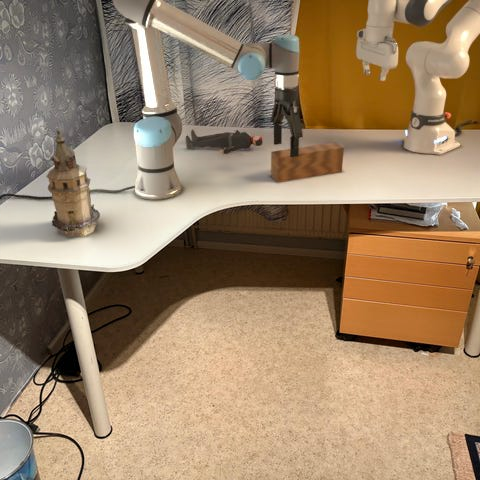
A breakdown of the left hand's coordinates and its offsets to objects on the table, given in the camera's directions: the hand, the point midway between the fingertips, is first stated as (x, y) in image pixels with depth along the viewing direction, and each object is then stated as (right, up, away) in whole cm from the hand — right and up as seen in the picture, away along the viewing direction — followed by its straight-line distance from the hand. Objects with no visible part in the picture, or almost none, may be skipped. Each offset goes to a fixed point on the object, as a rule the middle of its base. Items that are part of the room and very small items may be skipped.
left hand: (285, 150), depth 182 cm
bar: (+8, -7, +8) cm, 13 cm away
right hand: (+31, +25, +2) cm, 40 cm away
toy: (-21, +6, +32) cm, 39 cm away
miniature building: (-62, -27, -26) cm, 73 cm away
